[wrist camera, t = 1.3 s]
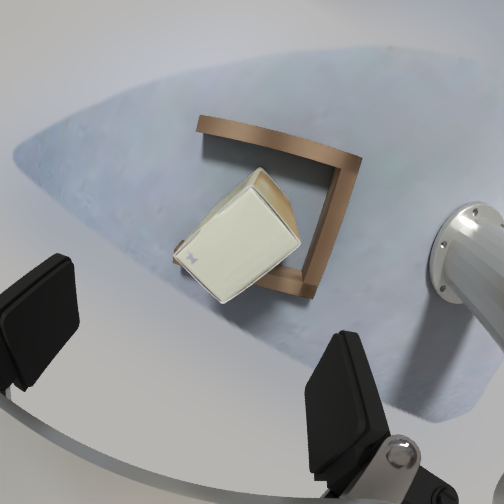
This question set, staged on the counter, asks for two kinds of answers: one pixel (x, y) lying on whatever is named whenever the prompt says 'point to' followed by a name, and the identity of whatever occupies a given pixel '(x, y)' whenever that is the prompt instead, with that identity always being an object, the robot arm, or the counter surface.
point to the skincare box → (241, 238)
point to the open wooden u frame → (331, 212)
